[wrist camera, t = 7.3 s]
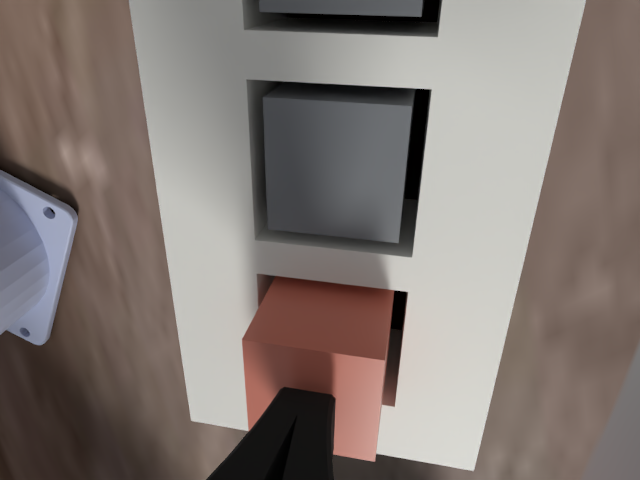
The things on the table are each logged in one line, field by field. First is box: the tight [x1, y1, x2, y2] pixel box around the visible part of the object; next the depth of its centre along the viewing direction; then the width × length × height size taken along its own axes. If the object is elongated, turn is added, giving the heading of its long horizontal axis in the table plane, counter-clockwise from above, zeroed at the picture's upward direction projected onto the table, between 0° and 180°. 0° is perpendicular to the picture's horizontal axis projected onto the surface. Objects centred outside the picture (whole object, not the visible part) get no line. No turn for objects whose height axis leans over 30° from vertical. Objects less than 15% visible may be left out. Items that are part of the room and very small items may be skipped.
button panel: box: [129, 0, 586, 471], centre depth 14 cm, size 20×10×4 cm, turn 179°
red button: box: [242, 276, 394, 462], centre depth 15 cm, size 4×4×4 cm
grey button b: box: [263, 81, 416, 243], centre depth 14 cm, size 4×4×4 cm
